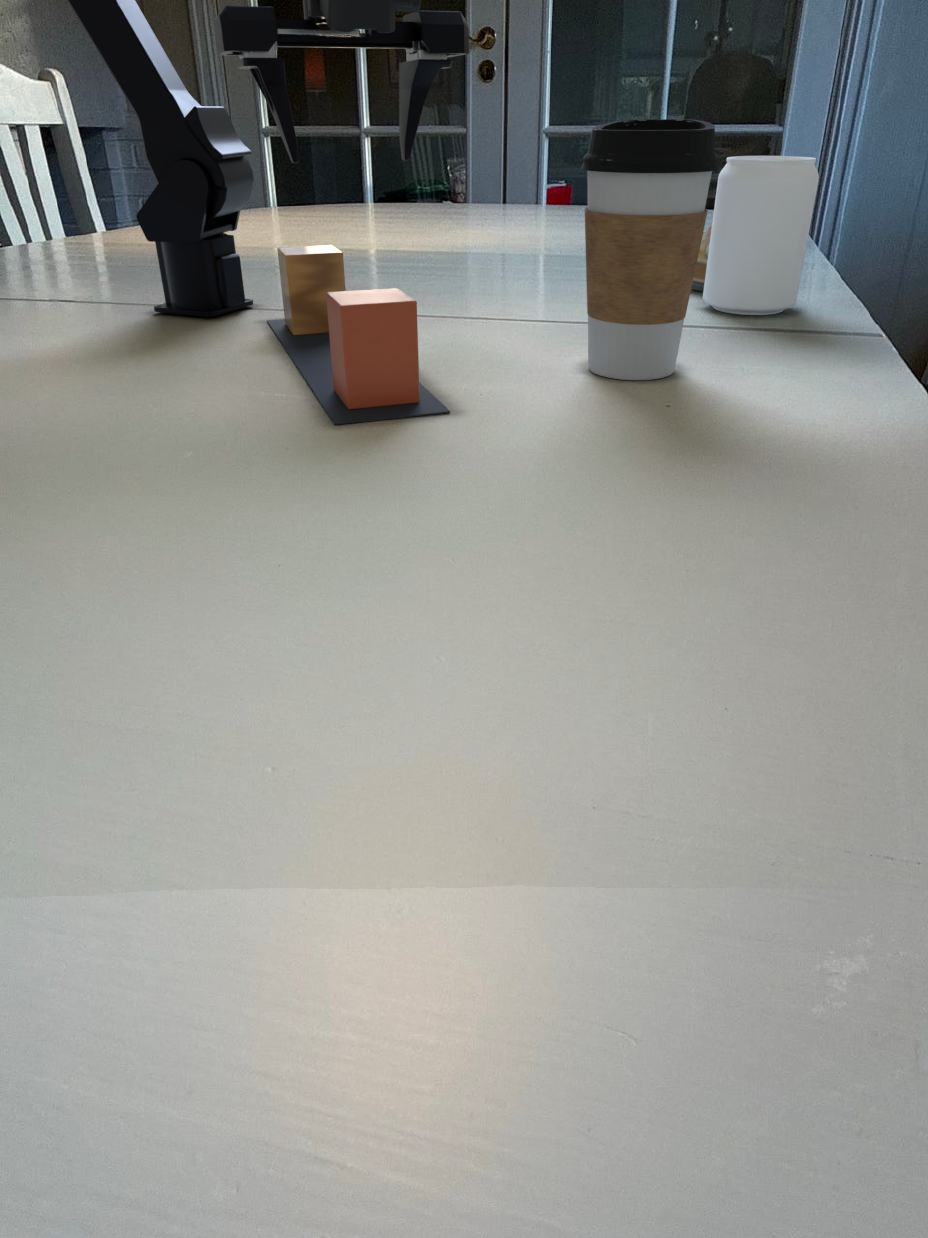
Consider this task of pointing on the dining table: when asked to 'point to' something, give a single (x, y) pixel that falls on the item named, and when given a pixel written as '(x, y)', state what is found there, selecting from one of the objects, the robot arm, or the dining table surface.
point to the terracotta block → (374, 347)
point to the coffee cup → (643, 240)
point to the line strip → (317, 371)
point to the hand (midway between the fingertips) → (351, 161)
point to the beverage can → (760, 233)
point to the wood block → (309, 285)
